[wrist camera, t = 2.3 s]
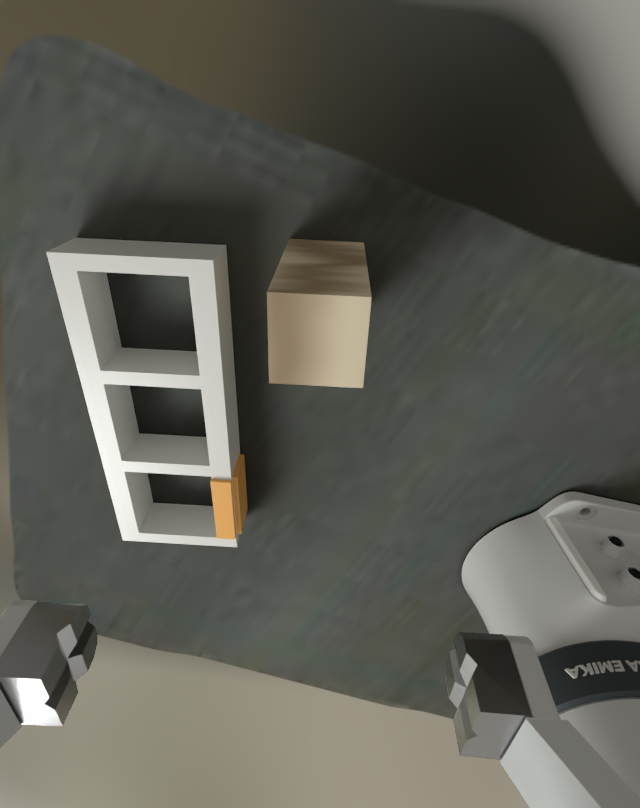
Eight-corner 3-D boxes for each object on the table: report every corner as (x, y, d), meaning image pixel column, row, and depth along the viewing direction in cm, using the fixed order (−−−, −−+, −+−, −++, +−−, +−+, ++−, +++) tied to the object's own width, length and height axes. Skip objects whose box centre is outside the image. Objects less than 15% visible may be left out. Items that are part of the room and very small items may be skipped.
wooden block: (363, 242, 29) (371, 297, 21) (358, 313, 32) (362, 388, 23) (289, 238, 29) (266, 292, 21) (289, 309, 32) (269, 383, 23)
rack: (232, 245, 30) (218, 261, 26) (249, 516, 42) (241, 550, 39) (76, 237, 30) (43, 253, 27) (138, 509, 42) (121, 543, 39)
